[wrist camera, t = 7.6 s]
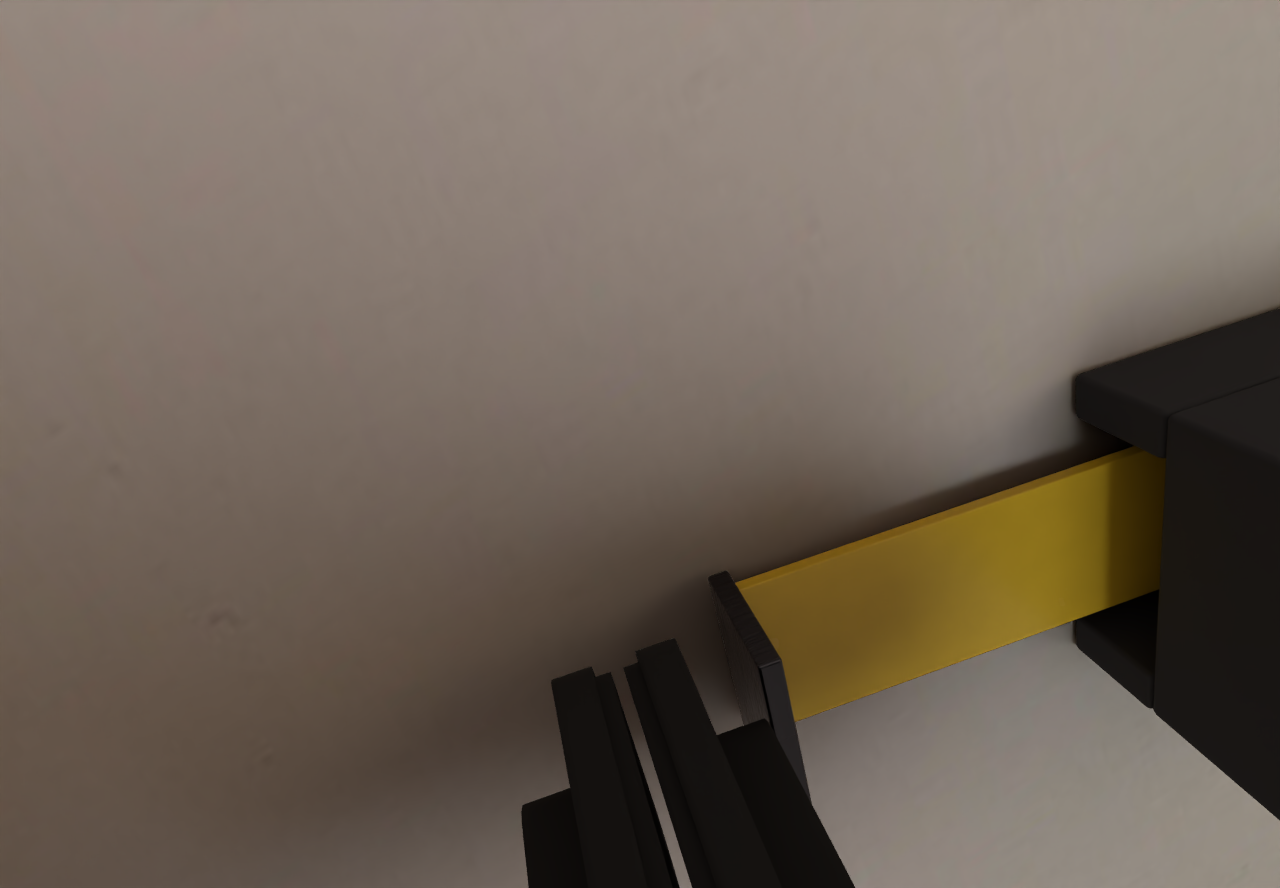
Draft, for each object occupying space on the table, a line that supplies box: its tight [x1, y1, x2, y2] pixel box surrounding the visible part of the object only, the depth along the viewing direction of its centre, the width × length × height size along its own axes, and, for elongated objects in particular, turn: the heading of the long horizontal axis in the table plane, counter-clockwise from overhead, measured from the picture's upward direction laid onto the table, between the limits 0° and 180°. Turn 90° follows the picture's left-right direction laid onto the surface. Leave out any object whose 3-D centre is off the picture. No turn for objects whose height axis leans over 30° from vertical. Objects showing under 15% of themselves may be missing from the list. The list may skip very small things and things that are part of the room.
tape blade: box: [708, 446, 1166, 804], centre depth 11 cm, size 10×3×2 cm, turn 104°
